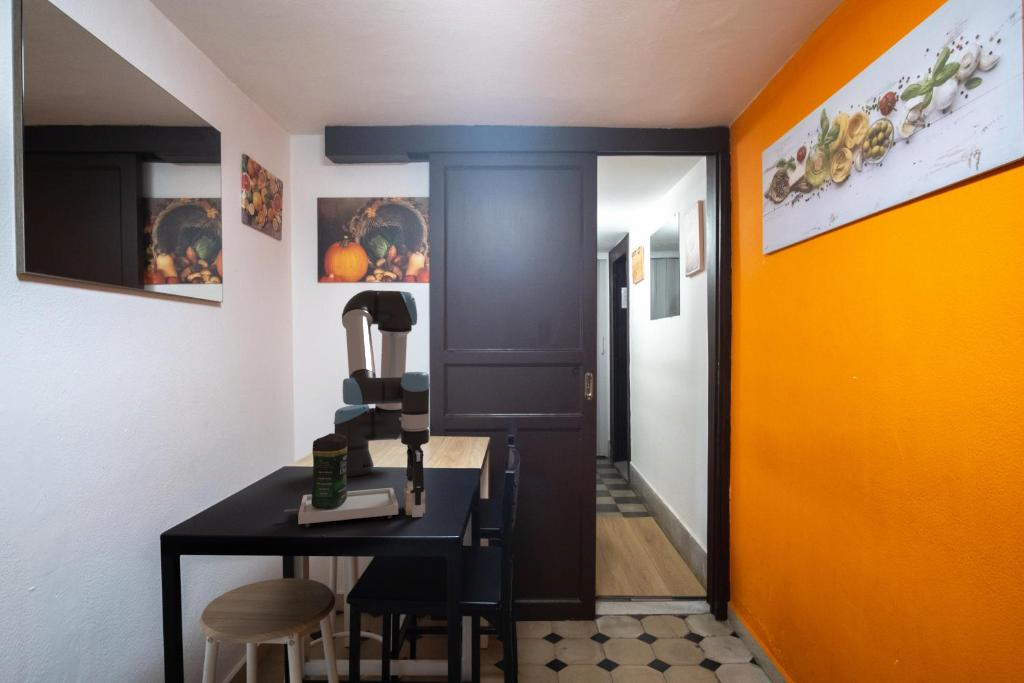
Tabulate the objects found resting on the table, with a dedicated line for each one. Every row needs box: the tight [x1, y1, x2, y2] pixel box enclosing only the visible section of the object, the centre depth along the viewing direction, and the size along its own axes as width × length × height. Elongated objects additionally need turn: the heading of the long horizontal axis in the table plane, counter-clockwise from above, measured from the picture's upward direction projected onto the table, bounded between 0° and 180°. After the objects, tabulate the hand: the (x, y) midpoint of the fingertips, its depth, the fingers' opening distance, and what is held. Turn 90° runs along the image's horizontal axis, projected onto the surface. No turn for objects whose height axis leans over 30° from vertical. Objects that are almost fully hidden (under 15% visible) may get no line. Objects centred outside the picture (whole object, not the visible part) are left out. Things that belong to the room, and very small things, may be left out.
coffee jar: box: [311, 432, 348, 509], centre depth 135 cm, size 10×8×19 cm
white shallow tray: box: [283, 487, 399, 528], centre depth 134 cm, size 16×28×4 cm, turn 108°
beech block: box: [403, 486, 426, 516], centre depth 139 cm, size 5×5×6 cm
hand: (414, 510), depth 139 cm, fingers open, 10 cm apart
